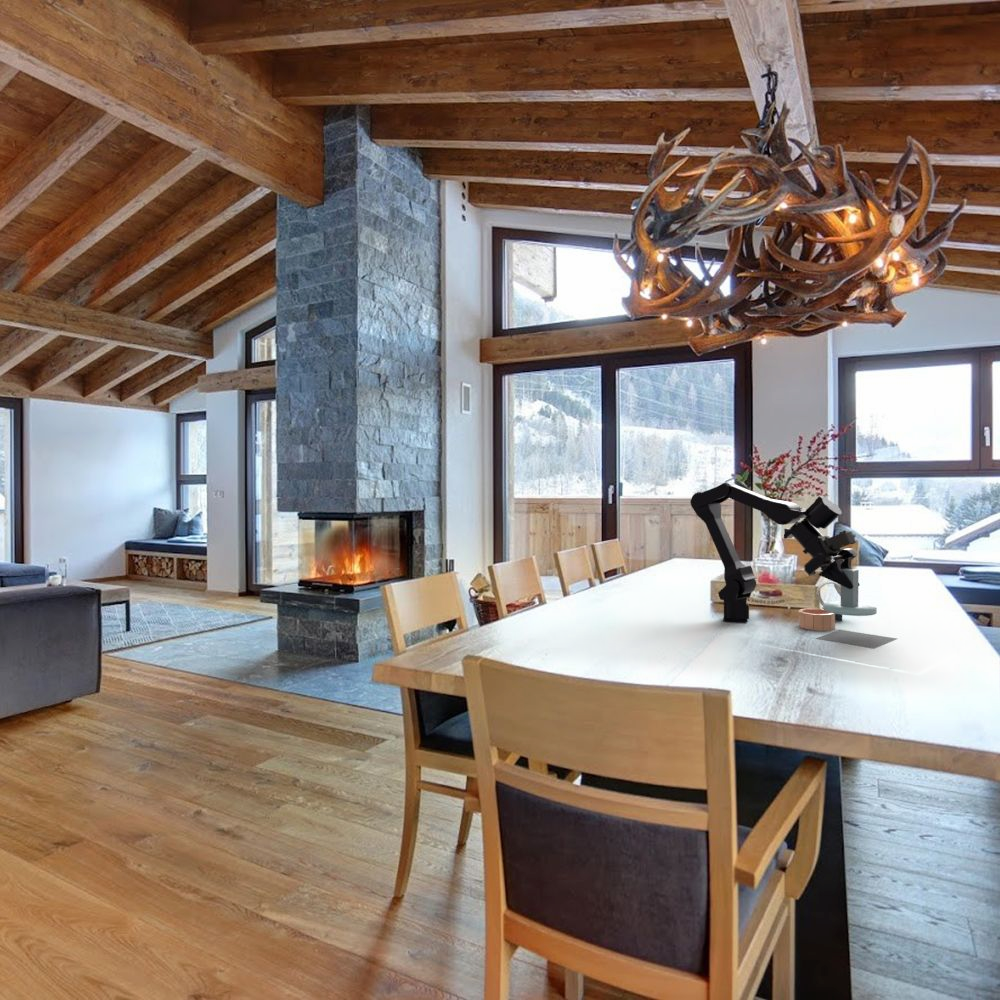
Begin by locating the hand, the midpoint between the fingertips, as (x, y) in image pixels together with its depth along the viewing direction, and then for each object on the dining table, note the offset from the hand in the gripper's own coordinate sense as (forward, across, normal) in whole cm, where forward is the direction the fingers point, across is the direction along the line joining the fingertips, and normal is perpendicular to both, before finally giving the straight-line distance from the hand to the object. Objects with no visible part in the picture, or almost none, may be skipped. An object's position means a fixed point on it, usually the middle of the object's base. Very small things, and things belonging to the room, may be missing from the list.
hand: (855, 587), depth 170 cm
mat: (+10, -1, +9) cm, 13 cm away
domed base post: (+3, 0, +5) cm, 6 cm away
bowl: (+1, +6, +18) cm, 19 cm away
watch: (0, +18, +20) cm, 27 cm away
